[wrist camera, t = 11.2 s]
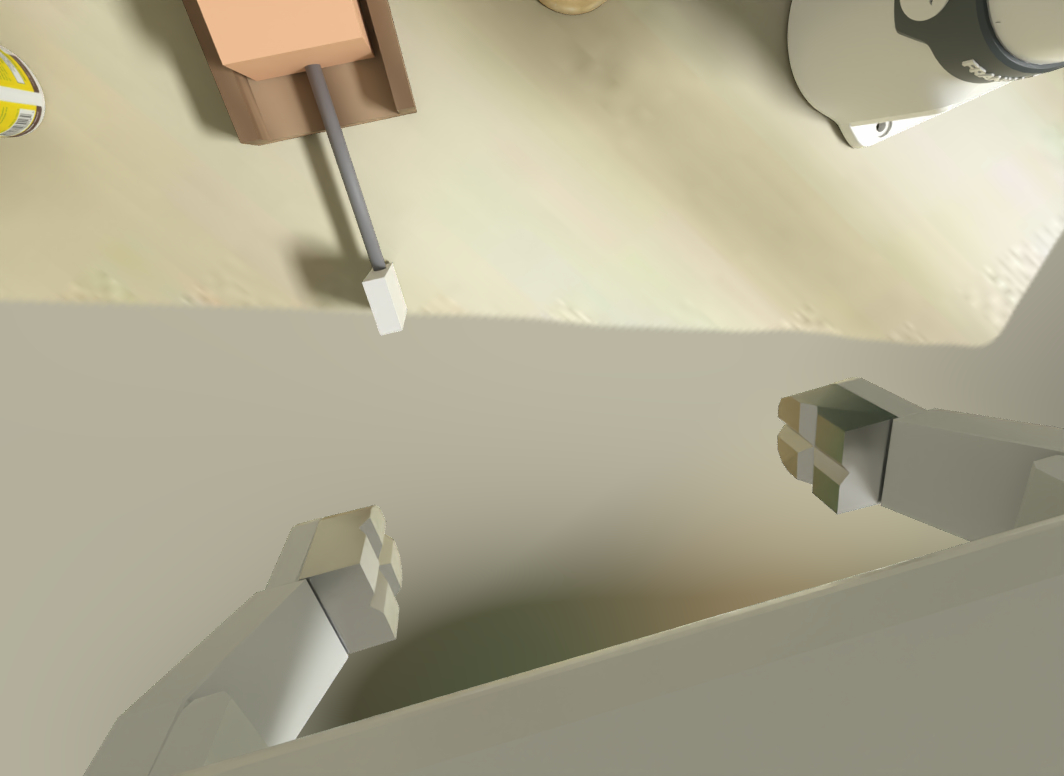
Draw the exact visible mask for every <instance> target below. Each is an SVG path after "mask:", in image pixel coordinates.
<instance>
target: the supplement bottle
mask: <svg viewBox="0 0 1064 776" xmlns="http://www.w3.org/2000/svg"><path fill="white" fill-rule="evenodd" d="M44 114H45V99H44V94H43V91H42V88H41V86H40V84H39V82H38V80H37V78H36V77H35V75H34V74H33V72H32V71H31V70H30V69H29V67H28V66H27V65H26V64H25V63H24V62H23V61H22V60H21V59H20V58H19V57H18V56H16V55H15V54H14V53H12V52H11V51H10V50H8V49H6V48H5V47H3V46H1V45H0V137H19V136H23V135H26V134H29V133H31V132H32V131H34V130H35V129H36V128H37V127H38V126H39V125H40V123H41V122H42V120H43V117H44Z"/></svg>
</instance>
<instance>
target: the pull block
mask: <svg viewBox="0 0 1064 776" xmlns="http://www.w3.org/2000/svg"><path fill="white" fill-rule="evenodd" d="M197 2H198V4H199V7H200V9H201V12H202V14H203V17H204V19H205V22H206V24H207V27H208V29H209V32H210V34H211V37H212V39H213V42H214V44H215V47H216V49H217V52H218V54H219V57H220V59H221V62H222V64H223V65H224V66H226V67H228V68H230V69H232V70H234V71H236V72H239V73H241V74H243V75H245V76H247V77H249V78H251V79H253V80H255V81H260V80H265V79H270V78H275V77H280V76H285V75H290V74H295V73H300V72H305V71H306V73H307V76H308V79H309V82H310V85H311V88H312V91H313V94H314V97H315V100H316V103H317V105H318V108H319V111H320V114H321V117H322V120H323V123H324V126H325V129H326V132H327V135H328V138H329V141H330V144H331V147H332V150H333V153H334V156H335V159H336V162H337V165H338V168H339V170H340V173H341V176H342V179H343V182H344V185H345V188H346V191H347V194H348V197H349V200H350V203H351V206H352V209H353V212H354V215H355V218H356V221H357V224H358V227H359V230H360V232H361V235H362V238H363V241H364V244H365V247H366V250H367V253H368V256H369V259H370V262H371V265H372V269H371V271H370V272H369V273H368V275H367V276H366V277H365V279H364V280H363V282H362V284H363V287H364V290H365V293H366V296H367V298H368V301H369V304H370V307H371V310H372V313H373V315H374V318H375V321H376V324H377V327H378V330H379V332H380V335H385V334H389V333H393V332H397V331H401V330H402V329H403V325H404V321H405V317H406V313H407V306H406V303H405V300H404V297H403V294H402V290H401V287H400V284H399V281H398V278H397V275H396V272H395V269H394V265H393V262H392V263H388V264H385V262H384V259H383V256H382V253H381V250H380V247H379V244H378V241H377V237H376V234H375V231H374V228H373V225H372V222H371V219H370V216H369V213H368V210H367V207H366V204H365V201H364V198H363V195H362V191H361V188H360V185H359V182H358V179H357V176H356V173H355V170H354V167H353V164H352V161H351V158H350V155H349V152H348V149H347V145H346V142H345V139H344V136H343V133H342V130H341V127H340V124H339V121H338V118H337V115H336V112H335V109H334V106H333V103H332V99H331V96H330V93H329V90H328V87H327V84H326V81H325V78H324V75H323V72H322V69H321V68H325V67H329V66H334V65H339V64H344V63H349V62H354V61H359V60H364V59H369V58H374V57H375V56H374V52H373V49H372V45H371V42H370V38H369V35H368V31H367V28H366V24H365V21H364V17H363V14H362V10H361V7H360V3H359V0H197Z"/></svg>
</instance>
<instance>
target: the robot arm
mask: <svg viewBox="0 0 1064 776" xmlns="http://www.w3.org/2000/svg"><path fill="white" fill-rule="evenodd" d="M788 53H789V60H790V65H791V69H792V72H793V75H794V78H795V81H796V83H797V85H798V87H799V89H800V91H801V92H802V94H803V96H804V97H805V98H806V100H807V101H808V102H809V103H810V104H811V105H812V106H813V107H814V108H815V109H817V110H818V111H819V112H821V113H822V114H824V115H826V116H827V117H829V118H831V119H832V120H833V121H835V122H836V123H837V124H838V126H839V128H840V130H841V132H842V133H843V135H844V137H845V139H846V140H847V142H848V143H849V144H850V145H851V146H852V147H853V148H857V149H859V148H864V147H869V146H872V145H874V144H876V143H878V142H881V141H883V140H885V139H887V138H889V137H892V136H894V135H896V134H898V133H900V132H903V131H905V130H907V129H909V128H911V127H914V126H916V125H918V124H920V123H922V122H925V121H927V120H929V119H931V118H933V117H936V116H938V115H940V114H942V113H944V112H947V111H949V110H951V109H953V108H955V107H958V106H960V105H962V104H964V103H966V102H969V101H971V100H973V99H975V98H977V97H980V96H982V95H984V94H986V93H988V92H991V91H993V90H995V89H997V88H999V87H1002V86H1004V85H1006V84H1008V83H1010V82H1012V81H1015V80H1020V79H1024V78H1029V77H1034V76H1037V75H1040V74H1042V73H1046V72H1050V71H1053V70H1057V69H1060V68H1063V67H1064V0H792V4H791V8H790V14H789V22H788ZM878 123H879V127H878V129H877V130H876V126H877V124H878ZM778 418H779V419H780V420H781V421H782V422H783V423H784V424H785V425H784V426H783V428H782V430H781V431H780V433H779V434H778V436H777V440H778V441H777V443H778V452H779V455H780V458H781V461H782V463H783V464H784V466H785V468H786V469H787V470H788V471H789V473H790V474H792V475H793V476H794V477H795V478H796V479H798V480H801V481H804V482H807V483H810V484H812V493H813V494H814V495H815V496H816V497H818V498H819V499H820V500H821V501H823V502H824V503H825V504H826V505H827V506H828V507H829V508H830V509H832V510H833V511H834V512H835V513H836V514H841V513H844V512H849V511H852V510H856V509H861V508H864V507H868V506H872V505H876V504H880V503H881V506H883V507H885V508H888V509H891V510H893V511H895V512H898V513H900V514H903V515H906V516H908V517H910V518H913V519H915V520H918V521H921V522H923V523H925V524H928V525H930V526H933V527H935V528H938V529H940V530H943V531H945V532H948V533H950V534H953V535H955V536H958V537H960V538H963V539H965V540H968V541H970V542H968V543H965V544H961V545H958V546H955V547H951V548H948V549H945V550H941V551H938V552H934V553H931V554H927V555H924V556H921V557H917V558H914V559H910V560H907V561H903V562H900V563H897V564H893V565H890V566H886V567H883V568H879V569H876V570H873V571H869V572H866V573H862V574H859V575H855V576H852V577H848V578H845V579H842V580H838V581H834V582H831V583H828V584H824V585H821V586H817V587H814V588H810V589H807V590H803V591H800V592H797V593H793V594H790V595H786V596H783V597H779V598H776V599H772V600H769V601H766V602H762V603H759V604H755V605H752V606H749V607H745V608H742V609H738V610H735V611H732V612H728V613H725V614H721V615H718V616H714V617H711V618H708V619H704V620H701V621H697V622H694V623H691V624H687V625H684V626H680V627H677V628H674V629H670V630H667V631H663V632H660V633H657V634H653V635H650V636H646V637H643V638H640V639H636V640H633V641H629V642H626V643H623V644H619V645H616V646H612V647H609V648H605V649H602V650H599V651H595V652H592V653H588V654H585V655H582V656H579V657H575V658H571V659H568V660H565V661H561V662H558V663H555V664H551V665H547V666H544V667H541V668H538V669H534V670H530V671H527V672H524V673H520V674H517V675H513V676H510V677H507V678H503V679H500V680H496V681H493V682H490V683H486V684H483V685H479V686H476V687H472V688H469V689H466V690H462V691H459V692H455V693H452V694H448V695H445V696H442V697H438V698H435V699H431V700H428V701H425V702H421V703H418V704H414V705H411V706H407V707H404V708H401V709H398V710H394V711H390V712H387V713H384V714H380V715H377V716H373V717H370V718H366V719H363V720H360V721H356V722H353V723H349V724H346V725H343V726H339V727H336V728H332V729H329V730H325V731H322V732H319V733H315V734H312V735H308V736H305V737H302V738H298V739H296V737H297V736H298V734H299V733H300V731H301V729H302V728H303V726H304V725H305V723H306V722H307V720H308V719H309V717H310V716H311V714H312V713H313V711H314V709H315V708H316V706H317V705H318V703H319V702H320V700H321V699H322V697H323V696H324V694H325V692H326V691H327V689H328V687H329V686H330V685H331V683H332V682H333V680H334V679H335V677H336V675H337V674H338V672H339V671H340V669H341V668H342V666H343V665H344V663H345V661H346V660H347V658H348V655H347V654H350V653H354V652H356V651H360V650H363V649H366V648H369V647H373V646H376V645H379V644H382V643H385V642H389V641H392V640H395V639H396V635H397V625H398V615H399V606H398V604H397V601H396V599H395V596H396V595H397V593H398V592H399V591H400V590H401V586H402V567H401V560H400V556H399V552H398V549H397V546H396V544H395V541H394V539H392V538H391V537H389V536H387V535H385V534H384V532H385V526H386V520H385V518H384V516H383V514H382V512H381V509H380V508H379V507H378V506H376V505H372V506H368V507H364V508H360V509H355V510H351V511H347V512H343V513H339V514H335V515H331V516H327V517H324V518H318V519H314V520H311V521H307V522H303V523H300V524H297V525H295V526H294V527H292V529H291V531H290V533H289V536H288V538H287V540H286V543H285V545H284V547H283V550H282V552H281V554H280V556H279V559H278V561H277V563H276V566H275V568H274V570H273V572H272V575H271V577H270V579H269V582H268V584H267V586H266V589H265V590H263V591H260V592H256V593H255V594H254V595H253V596H252V597H251V598H249V599H248V600H247V601H246V602H245V603H244V604H243V605H242V606H241V607H240V608H238V610H236V611H235V612H234V613H233V614H232V615H231V616H230V617H229V618H227V619H226V620H225V621H224V622H223V623H222V624H221V625H220V626H219V627H218V628H217V629H215V630H214V631H213V632H212V633H211V634H210V635H209V636H208V637H207V638H206V639H204V640H203V641H202V642H201V643H200V644H199V645H198V646H197V647H195V648H194V649H193V650H192V651H191V652H190V653H189V654H188V655H187V656H186V657H185V658H183V659H182V660H181V661H180V662H179V663H178V664H177V665H176V666H175V667H173V668H172V669H171V670H170V671H169V672H168V673H167V674H166V675H165V676H164V677H163V678H161V679H160V680H159V681H158V682H157V683H156V684H155V685H154V686H152V687H151V688H150V689H149V690H148V691H147V692H146V693H145V694H144V695H143V696H141V697H140V698H139V699H138V700H137V701H136V702H135V703H134V704H133V705H132V706H130V707H129V708H128V709H127V710H126V711H125V712H124V713H123V714H122V715H121V716H119V717H118V718H117V720H116V722H115V723H114V725H113V727H112V728H111V730H110V732H109V733H108V735H107V737H106V738H105V740H104V742H103V743H102V745H101V747H100V748H99V750H98V752H97V753H96V755H95V757H94V758H93V760H92V762H91V763H90V765H89V767H88V768H87V770H86V772H85V773H84V775H83V776H1064V428H1059V427H1052V426H1047V425H1040V424H1033V423H1027V422H1021V421H1014V420H1008V419H1001V418H995V417H989V416H982V415H976V414H969V413H962V412H956V411H950V410H943V409H936V408H934V409H930V410H926V409H924V408H922V407H919V406H918V405H916V404H913V403H911V402H909V401H907V400H905V399H903V398H901V397H899V396H897V395H895V394H893V393H891V392H889V391H887V390H885V389H883V388H881V387H879V386H877V385H875V384H873V383H871V382H869V381H867V380H865V379H863V378H855V377H852V378H848V379H845V380H842V381H838V382H835V383H832V384H829V385H826V386H823V387H819V388H816V389H812V390H809V391H805V392H802V393H798V394H795V395H791V396H788V397H784V398H782V399H781V401H780V403H779V406H778Z"/></svg>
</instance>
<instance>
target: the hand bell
mask: <svg viewBox="0 0 1064 776" xmlns="http://www.w3.org/2000/svg"><path fill="white" fill-rule="evenodd" d="M539 1H540V2H541V3H542V4H544V5H545V6H546V7H548V8H550V9H552V10H554V11H556V12H559V13H563V14H570V15H576V14H582V13H586V12H589V11H592V10H594V9H596V8H597V7H599V6H601V5H602V4H603V3H604V2H605V1H607V0H539Z"/></svg>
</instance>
